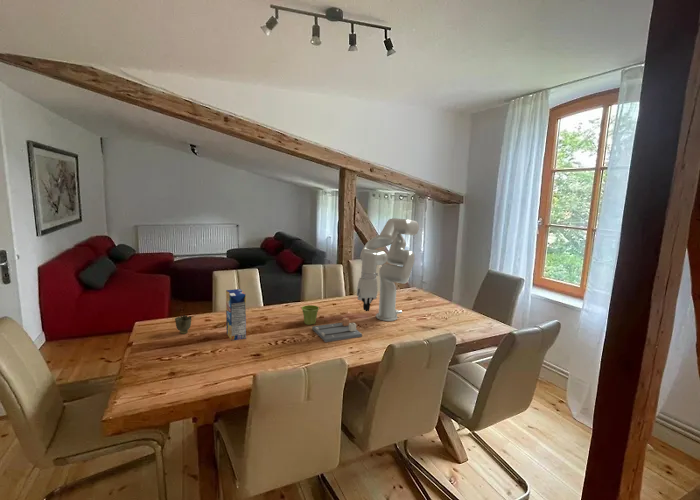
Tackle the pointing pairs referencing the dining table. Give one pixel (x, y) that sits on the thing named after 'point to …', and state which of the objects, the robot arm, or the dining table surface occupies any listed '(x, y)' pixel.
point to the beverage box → (236, 314)
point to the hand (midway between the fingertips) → (366, 310)
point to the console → (335, 332)
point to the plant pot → (310, 314)
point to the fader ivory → (352, 326)
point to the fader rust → (345, 321)
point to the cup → (183, 323)
